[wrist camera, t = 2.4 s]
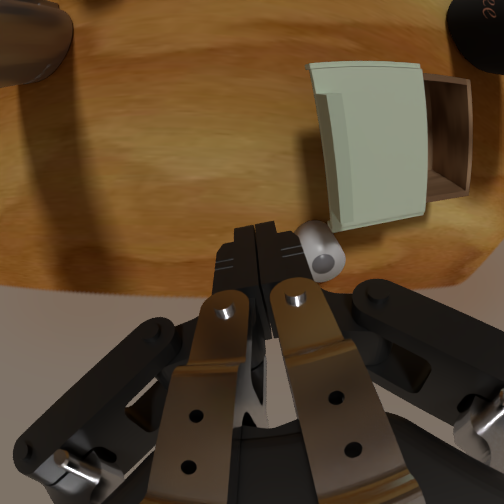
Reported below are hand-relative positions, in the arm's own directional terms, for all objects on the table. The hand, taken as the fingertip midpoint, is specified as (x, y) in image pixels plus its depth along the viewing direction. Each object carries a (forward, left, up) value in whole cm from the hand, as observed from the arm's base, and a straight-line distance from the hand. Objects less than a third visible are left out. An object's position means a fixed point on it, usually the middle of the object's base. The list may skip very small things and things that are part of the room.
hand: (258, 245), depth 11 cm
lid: (0, +10, -12) cm, 15 cm away
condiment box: (0, +17, -18) cm, 25 cm away
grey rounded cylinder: (+12, +5, -18) cm, 22 cm away
